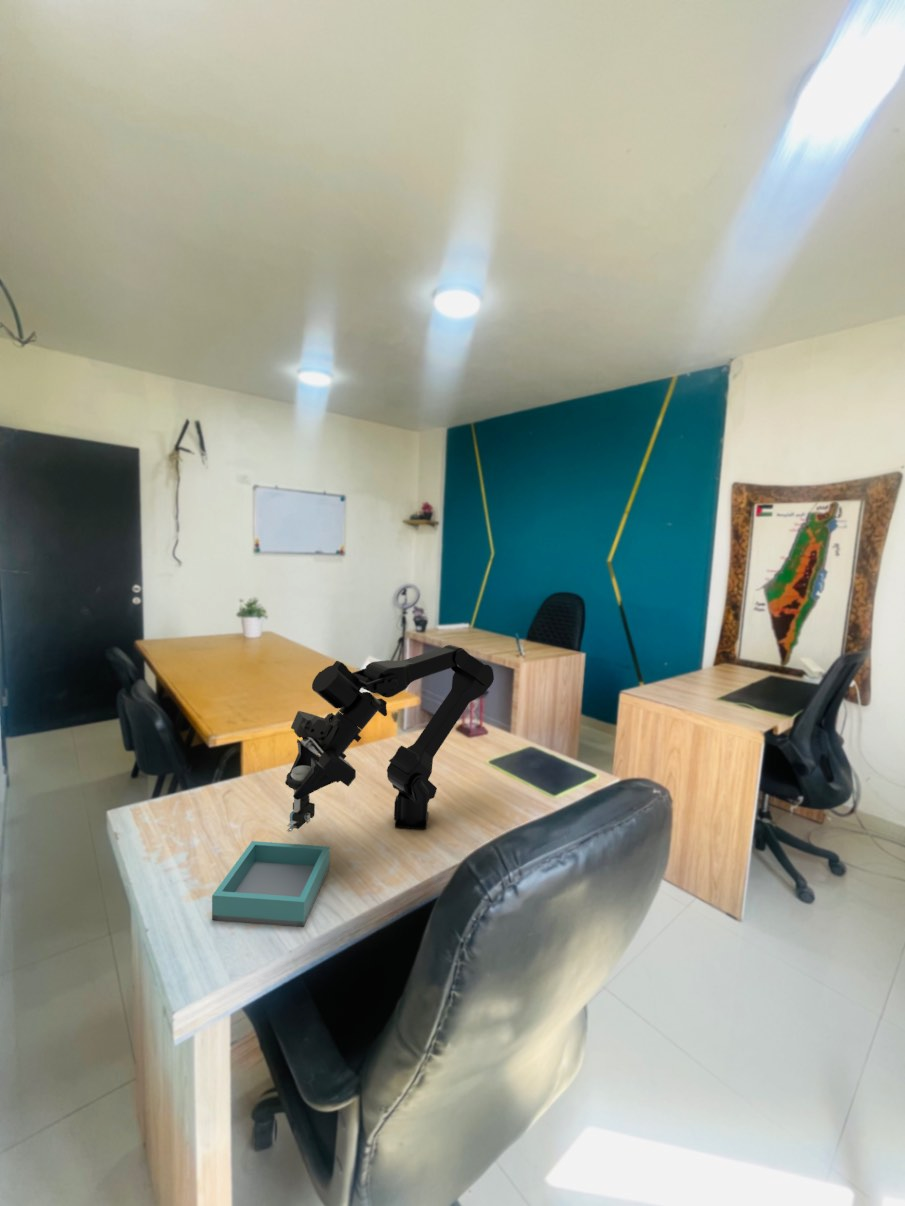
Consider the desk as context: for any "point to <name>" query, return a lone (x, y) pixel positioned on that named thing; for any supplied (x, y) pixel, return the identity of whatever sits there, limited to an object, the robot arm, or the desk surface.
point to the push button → (302, 806)
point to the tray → (272, 884)
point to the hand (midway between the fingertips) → (290, 791)
